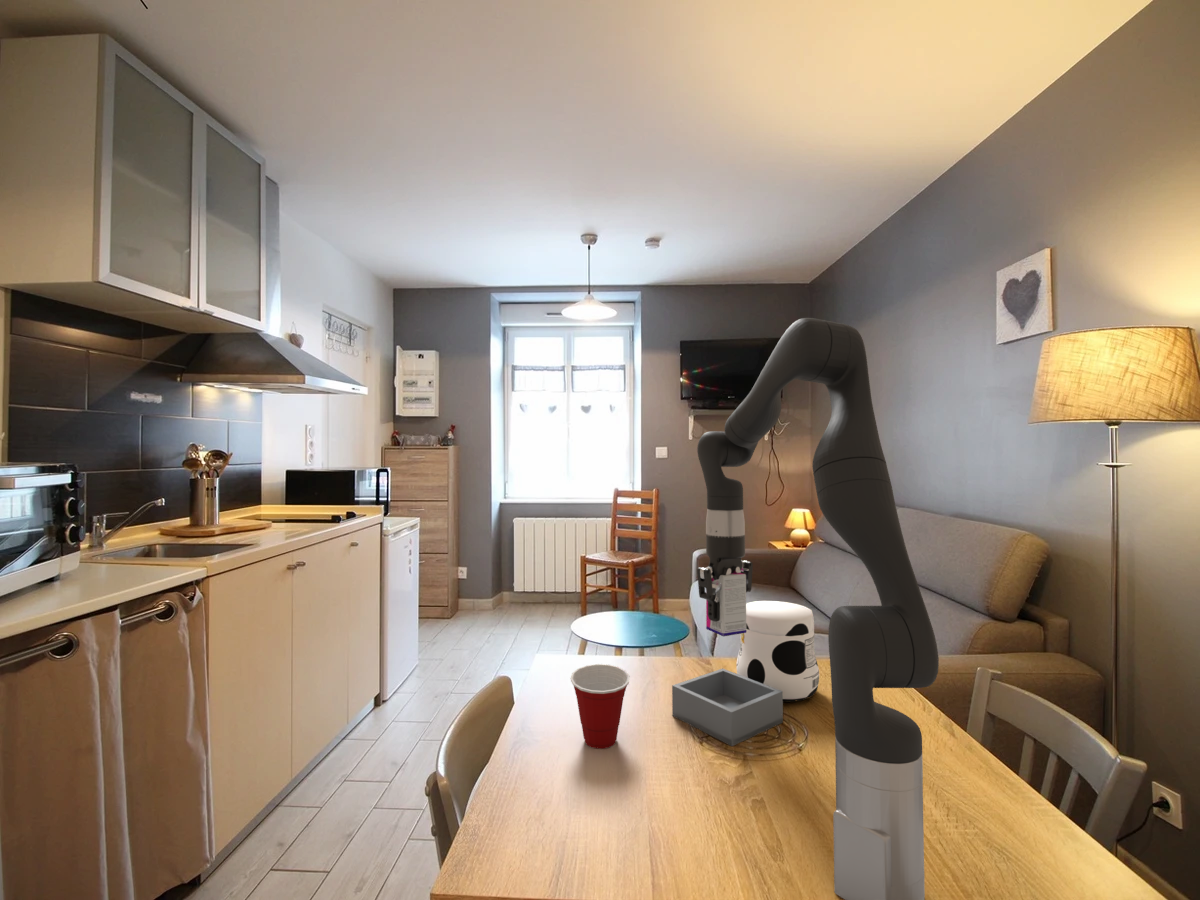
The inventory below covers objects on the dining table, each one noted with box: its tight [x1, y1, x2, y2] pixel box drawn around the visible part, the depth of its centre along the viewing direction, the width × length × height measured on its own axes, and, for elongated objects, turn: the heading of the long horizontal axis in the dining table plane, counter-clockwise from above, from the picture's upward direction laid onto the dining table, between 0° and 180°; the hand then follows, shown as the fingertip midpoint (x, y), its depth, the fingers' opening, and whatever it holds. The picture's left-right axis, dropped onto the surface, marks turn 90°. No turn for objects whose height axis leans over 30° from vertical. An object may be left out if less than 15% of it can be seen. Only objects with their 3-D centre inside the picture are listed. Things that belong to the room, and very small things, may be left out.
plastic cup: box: [569, 663, 631, 750], centre depth 101 cm, size 11×11×12 cm
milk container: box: [735, 600, 820, 703], centre depth 123 cm, size 17×17×18 cm
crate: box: [671, 668, 784, 747], centre depth 110 cm, size 15×15×6 cm
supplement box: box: [705, 573, 747, 637], centre depth 110 cm, size 6×6×12 cm
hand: (726, 617), depth 110 cm, fingers closed on supplement box, 6 cm apart
